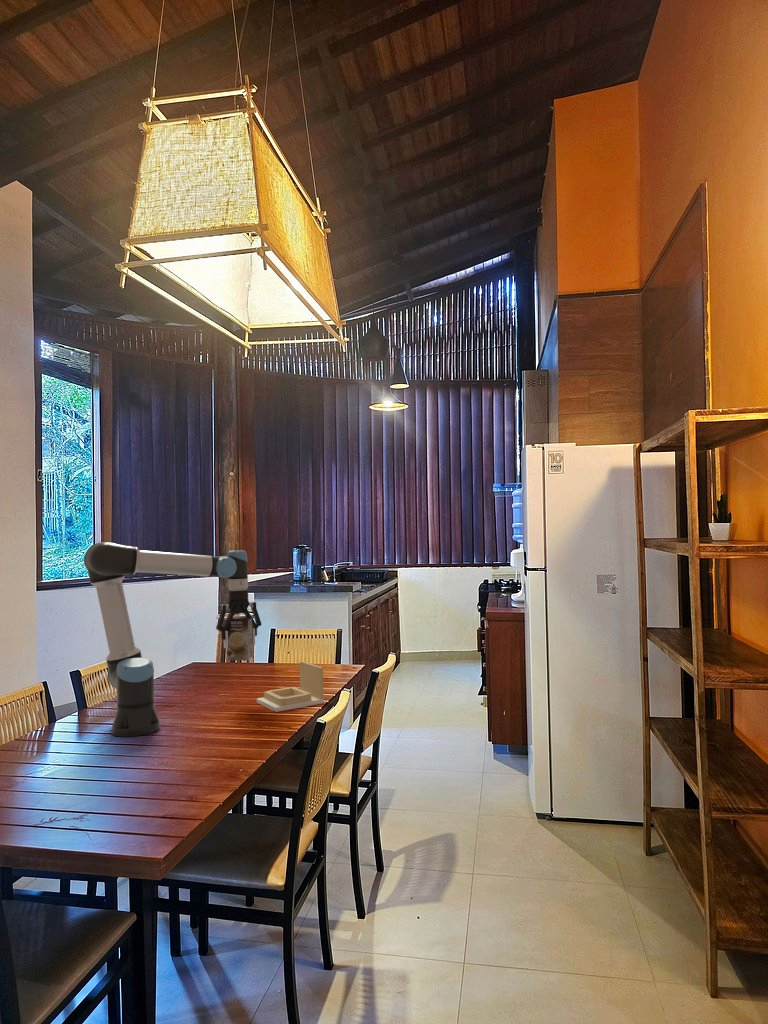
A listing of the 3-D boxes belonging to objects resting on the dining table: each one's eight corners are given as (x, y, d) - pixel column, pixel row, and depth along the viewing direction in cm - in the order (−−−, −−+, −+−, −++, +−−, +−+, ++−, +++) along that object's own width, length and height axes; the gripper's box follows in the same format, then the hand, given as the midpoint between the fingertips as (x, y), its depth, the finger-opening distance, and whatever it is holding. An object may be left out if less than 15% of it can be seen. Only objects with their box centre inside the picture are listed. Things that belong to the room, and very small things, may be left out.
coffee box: (225, 660, 251) (224, 619, 252) (231, 657, 257) (230, 616, 258) (248, 660, 250) (247, 618, 251) (253, 657, 257) (252, 616, 257)
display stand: (275, 712, 238) (274, 675, 239) (256, 702, 253) (255, 667, 254) (323, 703, 249) (322, 667, 250) (303, 694, 264) (302, 660, 265)
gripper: (213, 592, 245) (214, 651, 245) (269, 588, 258) (270, 644, 257) (206, 591, 252) (207, 648, 251) (261, 587, 264) (263, 641, 264)
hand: (239, 646), depth 254 cm, fingers closed on coffee box, 10 cm apart
